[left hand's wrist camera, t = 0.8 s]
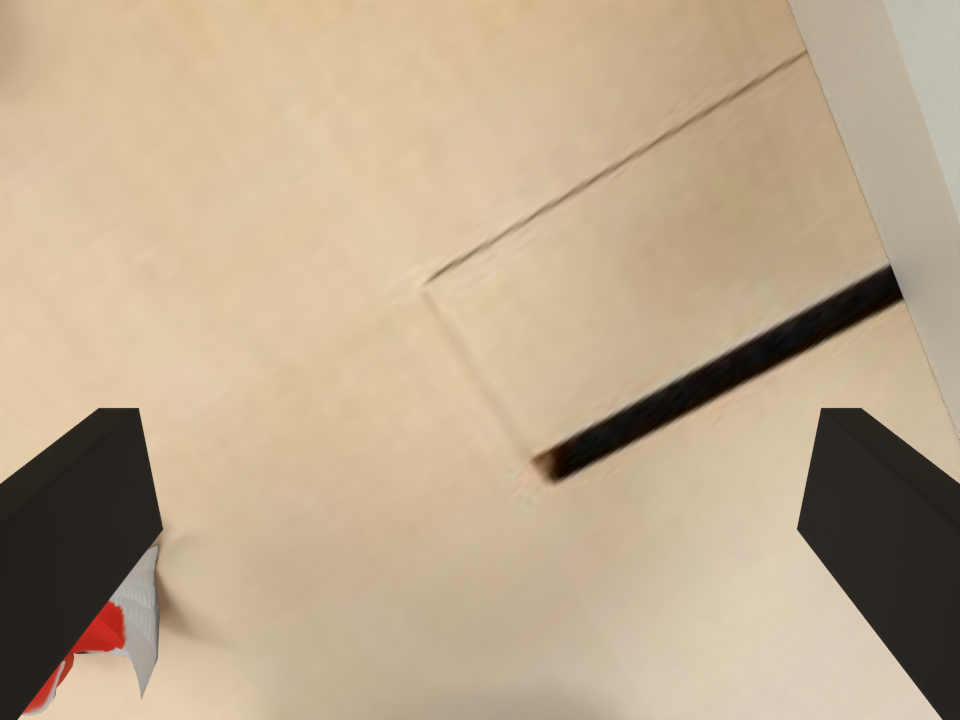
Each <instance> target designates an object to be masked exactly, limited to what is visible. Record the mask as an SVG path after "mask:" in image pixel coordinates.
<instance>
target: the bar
mask: <svg viewBox="0 0 960 720" xmlns="http://www.w3.org/2000/svg"><path fill="white" fill-rule="evenodd" d="M788 3H789V5H790V8H791V10H792V13H793V15H794V18H795V21H796V23H797V26H798V28H799V31H800V33H801V36H802V38H803V41H804V44H805V46H806V49H807V51H808V54H809V56H810V59H811V61H812V64H813V67H814V69H815V72H816V74H817V77H818V79H819V82H820V85H821V87H822V90H823V92H824V95H825V97H826V100H827V102H828V105H829V108H830V110H831V113H832V115H833V118H834V120H835V123H836V126H837V128H838V131H839V133H840V136H841V138H842V141H843V143H844V146H845V149H846V151H847V154H848V156H849V159H850V161H851V164H852V167H853V169H854V172H855V174H856V177H857V179H858V182H859V184H860V187H861V190H862V192H863V195H864V197H865V200H866V202H867V205H868V208H869V210H870V213H871V215H872V218H873V220H874V223H875V225H876V228H877V231H878V233H879V236H880V238H881V241H882V243H883V246H884V249H885V251H886V254H887V256H888V259H889V261H890V264H891V266H892V269H893V272H894V274H895V277H896V279H897V282H898V284H899V287H900V290H901V292H902V295H903V297H904V300H905V302H906V305H907V307H908V310H909V313H910V315H911V318H912V320H913V323H914V325H915V328H916V331H917V333H918V336H919V338H920V341H921V343H922V346H923V348H924V351H925V354H926V356H927V359H928V361H929V364H930V366H931V369H932V372H933V374H934V377H935V379H936V382H937V384H938V387H939V389H940V392H941V395H942V397H943V400H944V402H945V405H946V407H947V410H948V413H949V415H950V418H951V420H952V423H953V425H954V428H955V430H956V433H957V436H958V438H959V441H960V0H788Z"/></svg>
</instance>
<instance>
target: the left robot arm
mask: <svg viewBox="0 0 960 720" xmlns="http://www.w3.org/2000/svg"><path fill="white" fill-rule="evenodd" d="M162 530H163V527H162V522H161V517H160V512H159V507H158V502H157V497H156V492H155V487H154V482H153V477H152V472H151V467H150V462H149V457H148V452H147V447H146V442H145V437H144V432H143V427H142V422H141V417H140V412H139V408H98V409H97V410H96V411H94V412H93V413H92V414H91V415H89V416H88V417H87V418H85V419H84V420H83V421H81V422H80V423H79V424H78V425H76V426H75V427H74V428H72V429H71V430H70V431H68V432H67V433H66V434H65V435H63V436H62V437H61V438H59V439H58V440H57V441H55V442H54V443H53V444H52V445H50V446H49V447H48V448H46V449H45V450H44V451H42V452H41V453H40V454H39V455H37V456H36V457H35V458H33V459H32V460H31V461H29V462H28V463H27V464H26V465H24V466H23V467H22V468H20V469H19V470H18V471H16V472H15V473H14V474H13V475H11V476H10V477H9V478H7V479H6V480H5V481H3V482H2V483H1V484H0V720H18V718H19V717H20V716H21V714H22V713H23V712H24V711H25V709H26V708H27V707H28V705H29V704H30V703H31V701H32V700H33V699H34V697H35V696H36V695H37V694H38V692H39V691H40V690H41V688H42V687H43V686H44V684H45V683H46V682H47V680H48V679H49V678H50V677H51V675H52V674H53V673H54V671H55V670H56V669H57V667H58V666H59V665H60V663H61V662H62V661H63V660H64V658H65V657H66V656H67V654H68V653H69V652H70V650H71V649H72V648H73V646H74V645H75V644H76V643H77V641H78V640H79V639H80V637H81V636H82V635H83V633H84V632H85V631H86V629H87V628H88V627H89V626H90V624H91V623H92V622H93V620H94V619H95V618H96V616H97V615H98V614H99V612H100V611H101V610H102V609H103V607H104V606H105V605H106V603H107V602H108V601H109V599H110V598H111V597H112V595H113V594H114V593H115V592H116V590H117V589H118V588H119V586H120V585H121V584H122V582H123V581H124V580H125V578H126V577H127V576H128V575H129V573H130V572H131V571H132V569H133V568H134V567H135V565H136V564H137V563H138V561H139V560H140V559H141V558H142V556H143V555H144V554H145V552H146V551H147V550H148V548H149V547H150V546H151V544H152V543H153V542H154V541H155V539H156V538H157V537H158V535H159V534H160V533H161V531H162ZM797 530H798V531H799V533H800V534H801V535H802V537H803V538H804V539H805V541H806V542H807V543H808V544H809V546H810V547H811V548H812V550H813V551H814V552H815V554H816V555H817V556H818V558H819V559H820V560H821V561H822V563H823V564H824V565H825V567H826V568H827V569H828V571H829V572H830V573H831V575H832V576H833V577H834V578H835V580H836V581H837V582H838V584H839V585H840V586H841V588H842V589H843V590H844V592H845V593H846V594H847V595H848V597H849V598H850V599H851V601H852V602H853V603H854V605H855V606H856V607H857V609H858V610H859V611H860V612H861V614H862V615H863V616H864V618H865V619H866V620H867V622H868V623H869V624H870V626H871V627H872V628H873V629H874V631H875V632H876V633H877V635H878V636H879V637H880V639H881V640H882V641H883V643H884V644H885V645H886V646H887V648H888V649H889V650H890V652H891V653H892V654H893V656H894V657H895V658H896V660H897V661H898V662H899V663H900V665H901V666H902V667H903V669H904V670H905V671H906V673H907V674H908V675H909V677H910V678H911V679H912V680H913V682H914V683H915V684H916V686H917V687H918V688H919V690H920V691H921V692H922V694H923V695H924V696H925V697H926V699H927V700H928V701H929V703H930V704H931V705H932V707H933V708H934V709H935V711H936V712H937V713H938V714H939V716H940V717H941V718H942V720H960V484H959V483H958V482H957V481H955V480H954V479H953V478H951V477H950V476H949V475H947V474H946V473H945V472H944V471H942V470H941V469H940V468H938V467H937V466H936V465H934V464H933V463H932V462H931V461H929V460H928V459H927V458H925V457H924V456H923V455H921V454H920V453H919V452H918V451H916V450H915V449H914V448H912V447H911V446H910V445H908V444H907V443H906V442H905V441H903V440H902V439H901V438H899V437H898V436H897V435H895V434H894V433H893V432H892V431H890V430H889V429H888V428H886V427H885V426H884V425H882V424H881V423H880V422H879V421H877V420H876V419H875V418H873V417H872V416H871V415H869V414H868V413H867V412H866V411H864V410H863V409H862V408H821V412H820V417H819V422H818V427H817V432H816V437H815V442H814V447H813V452H812V457H811V462H810V467H809V472H808V477H807V482H806V487H805V492H804V497H803V502H802V507H801V512H800V517H799V522H798V527H797Z"/></svg>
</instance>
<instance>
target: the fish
mask: <svg viewBox="0 0 960 720" xmlns="http://www.w3.org/2000/svg"><path fill="white" fill-rule="evenodd" d="M158 549H159V546H158V544H157V545H155V546H153V547H151V548H149V549H148V550H147V551H146V552H145V554H144V555H143V556H142V558H141V559H140V560H139V561H138V563H137V564H136V565H135V567H134V568H133V569H132V571H131V572H130V573H129V575H128V576H127V577H126V578H125V580H124V581H123V582H122V584H121V585H120V586H119V588H118V589H117V590H116V592H115V593H114V594H113V595H112V597H111V598H110V599H109V601H108V602H107V603H106V605H105V606H104V607H103V609H102V610H101V611H100V612H99V614H98V615H97V616H96V618H95V619H94V620H93V622H92V623H91V624H90V626H89V627H88V628H87V629H86V631H85V632H84V633H83V635H82V636H81V637H80V639H79V640H78V641H77V643H76V644H75V645H74V646H73V648H72V649H71V650H70V652H69V653H68V654H67V656H66V657H65V658H64V660H63V661H62V662H61V663H60V665H59V666H58V667H57V669H56V670H55V671H54V673H53V674H52V675H51V677H50V678H49V679H48V680H47V682H46V683H45V684H44V686H43V687H42V688H41V690H40V691H39V692H38V694H37V695H36V696H35V697H34V699H33V700H32V701H31V703H30V704H29V705H28V707H27V708H26V709H25V711H24V712H23V713H22V715H24V716H31V715H35V714H40V713H41V712H43V711H44V710H45V709H46V708H47V707H48V706H49V705H50V703H51V702H52V700H53V699H54V697H55V694H56V688H57V687H58V686H59V685H60V684H61V682H62V681H63V680H64V678H65V677H66V675H67V674H68V672H69V671H70V669H71V668H72V666H73V661H74V654H73V653H76V654H84V653H101V652H108V653H112V654H116V655H121V656H127V657H128V658H129V659H130V660H131V662H132V664H133V666H134V669H135V671H136V674H137V678H138V681H139V686H140V691H141V699H142V697H143V694H144V691H145V689H146V686H147V684H148V681H149V679H150V676H151V674H152V671H153V669H154V666H155V664H156V661H157V659H158V639H159V609H158V599H157V589H156V579H155V567H156V562H157V557H158Z"/></svg>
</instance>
